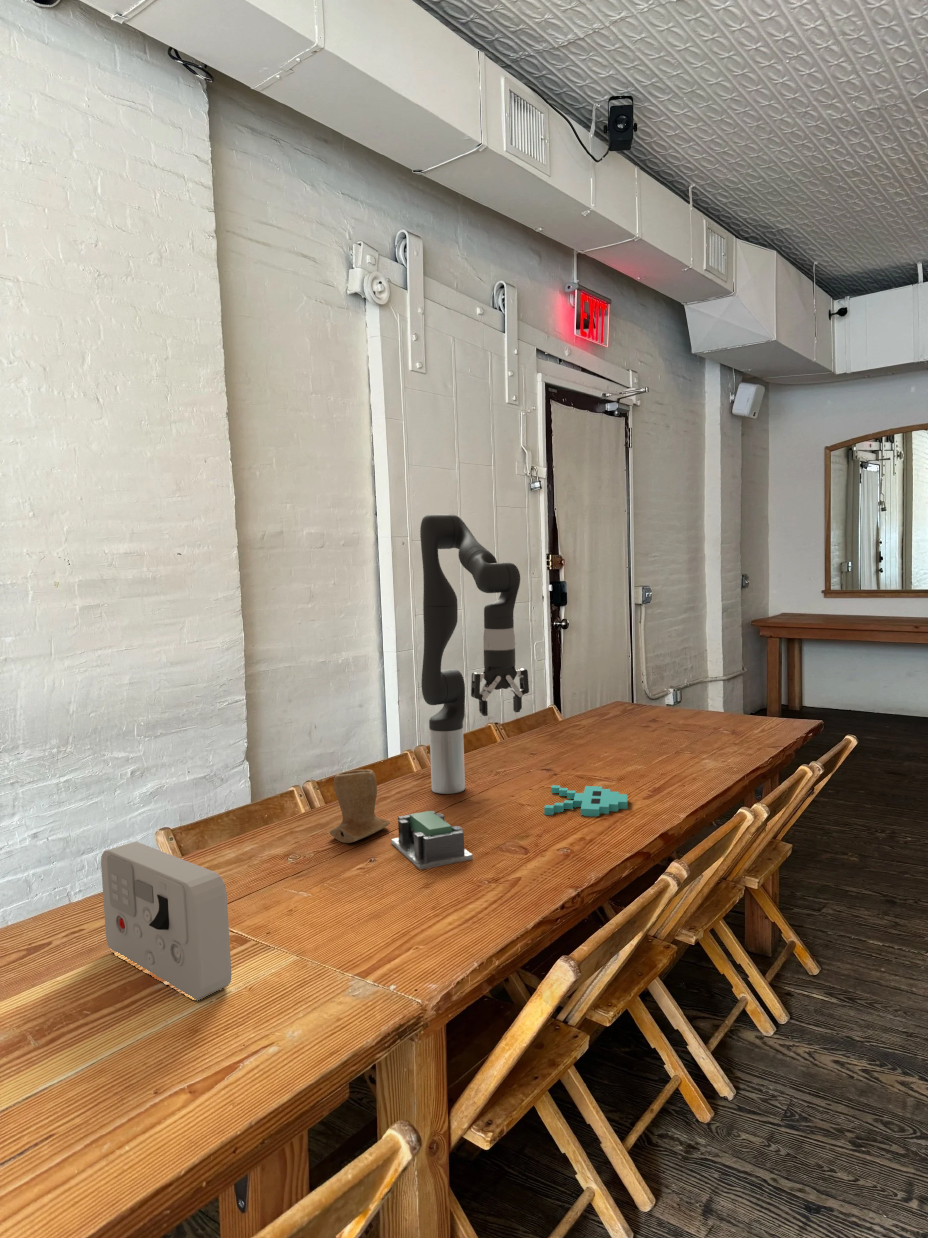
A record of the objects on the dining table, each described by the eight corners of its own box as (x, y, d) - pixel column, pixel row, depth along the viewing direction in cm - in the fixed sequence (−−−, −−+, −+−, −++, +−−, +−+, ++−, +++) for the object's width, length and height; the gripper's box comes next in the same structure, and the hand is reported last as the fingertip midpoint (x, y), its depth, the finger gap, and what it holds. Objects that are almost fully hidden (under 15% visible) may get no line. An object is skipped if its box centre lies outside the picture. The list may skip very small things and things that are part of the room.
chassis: (391, 843, 188) (390, 817, 188) (440, 834, 193) (439, 809, 193) (419, 869, 172) (418, 841, 171) (472, 859, 177) (471, 831, 176)
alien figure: (544, 816, 205) (627, 819, 201) (544, 807, 205) (627, 810, 201) (552, 793, 225) (627, 795, 221) (552, 785, 224) (627, 787, 220)
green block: (410, 827, 187) (409, 814, 186) (430, 823, 189) (430, 810, 188) (430, 843, 176) (429, 829, 175) (451, 839, 178) (451, 825, 177)
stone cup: (357, 821, 205) (354, 761, 204) (396, 828, 199) (394, 766, 198) (316, 840, 192) (312, 776, 191) (356, 848, 186) (353, 782, 185)
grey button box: (93, 957, 138) (85, 851, 137) (136, 940, 144) (129, 838, 143) (187, 1014, 120) (180, 892, 119) (233, 991, 126) (226, 875, 124)
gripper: (519, 643, 205) (520, 708, 206) (465, 647, 200) (467, 714, 201) (533, 646, 198) (534, 713, 200) (478, 650, 193) (479, 719, 194)
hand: (500, 713), depth 200 cm, fingers open, 8 cm apart
